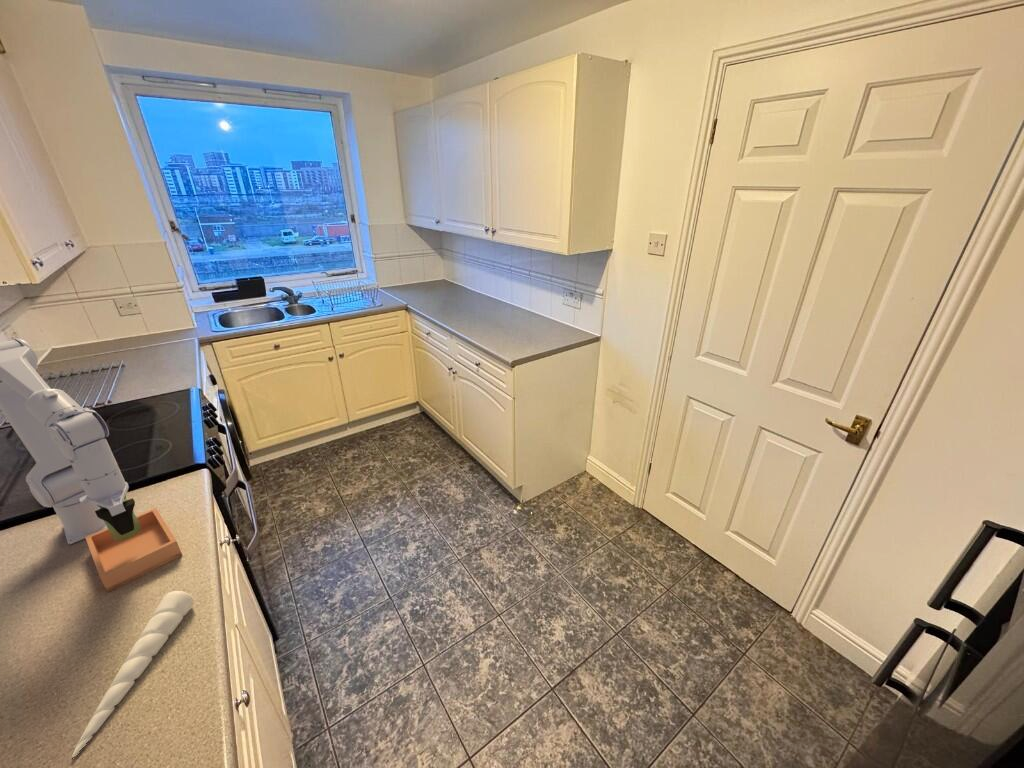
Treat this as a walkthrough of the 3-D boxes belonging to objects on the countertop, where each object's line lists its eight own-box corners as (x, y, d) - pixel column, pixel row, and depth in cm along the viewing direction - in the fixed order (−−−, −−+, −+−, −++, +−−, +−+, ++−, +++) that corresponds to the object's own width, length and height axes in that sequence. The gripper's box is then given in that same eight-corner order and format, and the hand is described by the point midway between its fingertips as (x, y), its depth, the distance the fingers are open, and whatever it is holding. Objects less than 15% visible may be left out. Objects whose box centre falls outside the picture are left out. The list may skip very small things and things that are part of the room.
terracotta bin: (92, 551, 89) (85, 537, 88) (161, 521, 98) (155, 507, 96) (107, 592, 80) (99, 577, 78) (182, 555, 89) (176, 540, 87)
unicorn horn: (43, 763, 56) (27, 742, 54) (173, 606, 78) (164, 587, 76) (79, 762, 56) (64, 742, 54) (198, 606, 78) (191, 587, 76)
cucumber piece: (110, 533, 86) (96, 507, 83) (138, 521, 89) (125, 495, 87) (115, 543, 84) (101, 517, 81) (143, 531, 87) (130, 504, 84)
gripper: (64, 466, 82) (92, 520, 87) (76, 497, 73) (105, 555, 79) (111, 451, 87) (134, 503, 92) (127, 479, 78) (152, 534, 84)
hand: (124, 526), depth 86 cm, fingers closed on cucumber piece, 4 cm apart
